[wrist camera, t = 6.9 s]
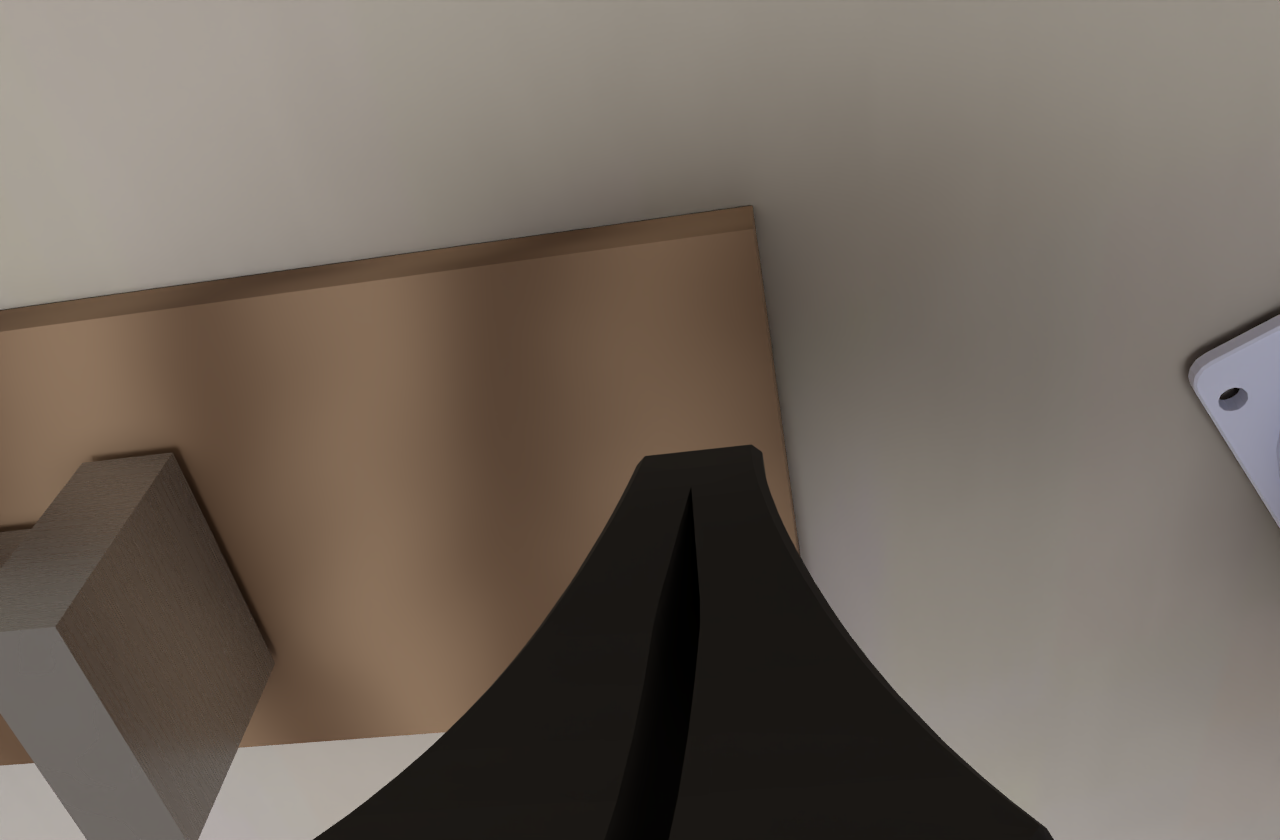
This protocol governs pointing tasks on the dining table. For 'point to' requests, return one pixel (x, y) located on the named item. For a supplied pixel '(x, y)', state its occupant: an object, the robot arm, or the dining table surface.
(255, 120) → the dining table surface
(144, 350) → the launcher board
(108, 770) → the grey h-shaped block
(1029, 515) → the dining table surface
